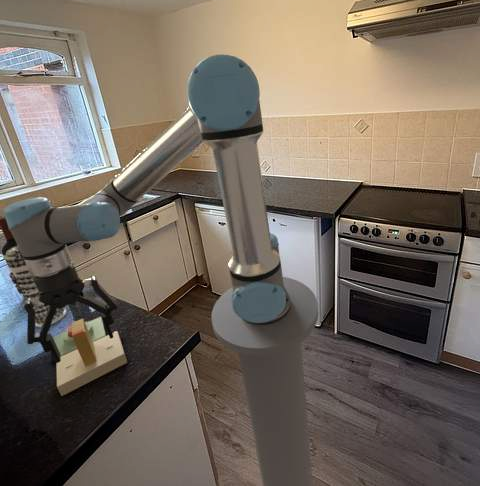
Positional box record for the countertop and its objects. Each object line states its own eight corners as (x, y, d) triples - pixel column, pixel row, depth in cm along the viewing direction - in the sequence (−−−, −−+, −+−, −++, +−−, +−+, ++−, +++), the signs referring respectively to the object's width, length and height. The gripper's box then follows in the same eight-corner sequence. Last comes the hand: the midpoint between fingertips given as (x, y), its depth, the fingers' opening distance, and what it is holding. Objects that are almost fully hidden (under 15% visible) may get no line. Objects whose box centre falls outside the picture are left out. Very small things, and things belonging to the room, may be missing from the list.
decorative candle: (74, 307, 98) (46, 239, 89) (52, 327, 89) (19, 255, 80) (49, 307, 99) (19, 240, 90) (25, 328, 90) (-11, 256, 81)
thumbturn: (83, 351, 75) (70, 322, 72) (94, 346, 77) (82, 317, 73) (85, 366, 71) (71, 336, 67) (96, 361, 72) (84, 331, 69)
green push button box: (102, 319, 91) (99, 311, 90) (106, 338, 83) (103, 330, 82) (55, 339, 85) (51, 331, 84) (55, 362, 77) (51, 353, 76)
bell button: (85, 324, 85) (83, 319, 85) (86, 332, 82) (84, 327, 82) (69, 331, 83) (66, 326, 83) (69, 339, 80) (67, 334, 80)
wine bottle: (22, 304, 102) (-17, 224, 91) (27, 293, 108) (-10, 217, 97) (49, 296, 105) (14, 218, 94) (51, 285, 112) (19, 211, 101)
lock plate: (120, 339, 82) (117, 330, 81) (127, 362, 74) (124, 353, 73) (60, 367, 75) (56, 357, 74) (61, 396, 67) (56, 386, 66)
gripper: (-21, 300, 56) (26, 384, 64) (113, 256, 67) (138, 332, 75) (-14, 282, 62) (28, 361, 70) (108, 244, 73) (132, 316, 81)
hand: (85, 346), depth 73 cm, fingers open, 10 cm apart
